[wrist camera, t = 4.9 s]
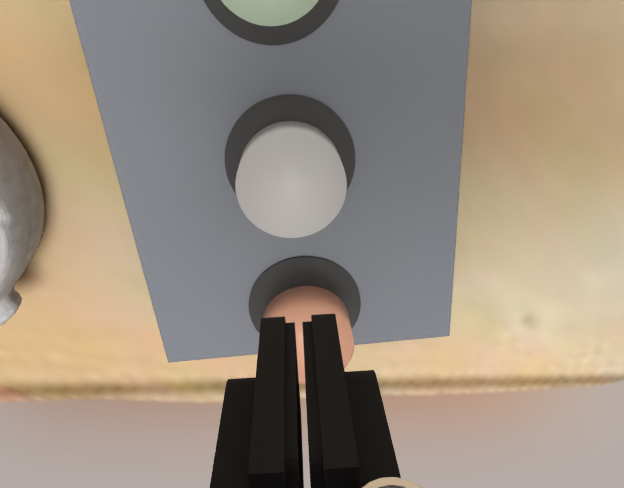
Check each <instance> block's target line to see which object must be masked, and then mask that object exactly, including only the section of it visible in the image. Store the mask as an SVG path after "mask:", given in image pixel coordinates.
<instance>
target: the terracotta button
mask: <svg viewBox="0 0 624 488" xmlns="http://www.w3.org/2000/svg"><path fill="white" fill-rule="evenodd" d="M334 313H335V315H336V321H337V327H338V334H339V340H340V346H341V353H342V359H343V365H344V368H345V367H346V366H347V364H348V363H349V361H350V360H351V358H352V355H353V351H354V338H353V333H352V329H351V324H350V319H349V314H348V311H347V308H346V306H345V304H344V303H343V302H342V300H341V299H340V298H339V297H338V296H336V295H335V294H334V293H332V292H330V291H328V290H326V289H323V288H320V287H315V286H299V287H294V288H291V289H288V290H286V291H284V292H282V293H280V294H279V295H277V296H276V297H275V298H274V299H273V300H272V301H271V302H270V303H269V304H268V306H267V308H266V310H265V312H264V316H263V318H267V317H284V316H285V320H286V323H292V322H295V333H296V348H297V363H298V378H299V383H301V384H305V364H304V344H303V324H302V322H308V321H312V319H311V315H318V314H334Z"/></svg>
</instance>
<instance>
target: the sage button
mask: <svg viewBox="0 0 624 488" xmlns="http://www.w3.org/2000/svg"><path fill="white" fill-rule="evenodd" d="M221 1H222V2H223V3H224V5H225V6H226V7H227V8H228V9H229V10H231V11H232V12H233V13H234V14H236V15H237V16H239V17H240V18H242V19H244V20H246V21H248V22H250V23H253V24H257V25H262V26H280V25H285V24H288V23H291V22H293V21H295V20H298V19H299V18H301V17H302V16H304V15H305V14H306V13H308V12H309V11H310V10H311V9H312V8H313V7H314V6H315V5H316V3H317V2H318V1H319V0H221Z"/></svg>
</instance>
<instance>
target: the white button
mask: <svg viewBox="0 0 624 488" xmlns="http://www.w3.org/2000/svg"><path fill="white" fill-rule="evenodd" d="M235 188H236V195H237V200H238V202H239V205H240V207H241V209H242V211H243V213H244V214H245V215H246V217H247V218H248V219H249V220H250V221H251V222H252V223H253V224H254V225H255V226H256V227H258V228H259V229H261V230H263V231H264V232H267V233H269V234H271V235H274V236H278V237H283V238H299V237H304V236H308V235H311V234H314V233H316V232H318V231H320V230H321V229H323V228H324V227H326V226H327V225H328V224H329V223H331V222H332V221H333V220H334V218H335V217H336V216H337V215H338V213H339V211H340V210H341V208H342V206H343V203H344V200H345V197H346V191H347V180H346V174H345V170H344V167H343V164H342V162H341V159H340V156H339V154H338V151H337V149H336V147H335V145H334V144H333V142H332V141H331V140H330V138H329V137H328V136H327V135H326V134H325V133H323V132H322V131H321V130H319V129H318V128H316V127H314V126H312V125H309V124H307V123H303V122H298V121H283V122H278V123H274V124H271V125H269V126H267V127H265V128H263V129H262V130H260V131H259V132H258V133H256V134H255V135H254V136H253V137H252V138H251V140H250V141H249V142H248V144H247V145H246V147H245V149H244V151H243V154H242V157H241V160H240V164H239V167H238V171H237V175H236V183H235Z"/></svg>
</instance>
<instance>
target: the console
mask: <svg viewBox="0 0 624 488" xmlns="http://www.w3.org/2000/svg"><path fill="white" fill-rule="evenodd" d="M69 1H70V5H71V8H72V12H73V16H74V19H75V23H76V27H77V30H78V34H79V38H80V41H81V45H82V49H83V52H84V56H85V60H86V63H87V67H88V70H89V74H90V78H91V81H92V85H93V89H94V92H95V96H96V100H97V103H98V107H99V111H100V114H101V118H102V122H103V125H104V129H105V133H106V136H107V140H108V144H109V147H110V151H111V155H112V158H113V162H114V166H115V169H116V173H117V177H118V180H119V184H120V188H121V191H122V195H123V199H124V202H125V206H126V210H127V213H128V217H129V221H130V224H131V228H132V232H133V235H134V239H135V243H136V246H137V250H138V254H139V257H140V261H141V264H142V268H143V272H144V275H145V279H146V283H147V286H148V290H149V294H150V297H151V301H152V305H153V308H154V312H155V316H156V319H157V323H158V327H159V330H160V334H161V338H162V341H163V345H164V349H165V352H166V356H167V360H168V362H178V361H189V360H200V359H210V358H221V357H231V356H242V355H253V354H258V346H259V334H260V322H261V318H263V316H264V312H265V310H266V308H267V306H268V304H269V303H270V302H271V301H272V300H273V299H274V298H275V297H276V296H277V295H279V294H280V293H282V292H284V291H286V290H288V289H291V288H294V287H299V286H315V287H320V288H323V289H326V290H328V291H330V292H332V293H334V294H335V295H336V296H338V297H339V298H340V299H341V300H342V302H343V303H344V304H345V306H346V308H347V311H348V314H349V319H350V324H351V329H352V333H353V338H354V345H358V344H369V343H380V342H390V341H401V340H411V339H422V338H433V337H443V336H449V334H450V319H451V303H452V288H453V273H454V258H455V243H456V228H457V213H458V198H459V183H460V168H461V153H462V137H463V122H464V107H465V92H466V77H467V62H468V47H469V32H470V17H471V2H472V0H319V1H318V2H317V3H316V5H315V6H314V7H313V8H312V9H311V10H310V11H309V12H308V13H306V14H305V15H304V16H302V17H301V18H299V19H298V20H295V21H293V22H291V23H288V24H285V25H280V26H262V25H257V24H253V23H250V22H248V21H246V20H244V19H242V18H240V17H239V16H237V15H236V14H234V13H233V12H232V11H231V10H229V9H228V8H227V7H226V6H225V5H224V3H223V2H222V1H221V0H69ZM283 121H298V122H303V123H307V124H309V125H312V126H314V127H316V128H318V129H319V130H321V131H322V132H323V133H325V134H326V135H327V136H328V137H329V138H330V140H331V141H332V142H333V144H334V145H335V147H336V149H337V151H338V154H339V156H340V159H341V162H342V164H343V167H344V170H345V174H346V180H347V191H346V197H345V200H344V203H343V206H342V208H341V210H340V211H339V213H338V215H337V216H336V217H335V218H334V220H333V221H332V222H331V223H329V224H328V225H327V226H326V227H324V228H323V229H321V230H320V231H318V232H316V233H314V234H311V235H308V236H304V237H299V238H283V237H278V236H274V235H271V234H269V233H267V232H264V231H263V230H261V229H259V228H258V227H256V226H255V225H254V224H253V223H252V222H251V221H250V220H249V219H248V218H247V217H246V215H245V214H244V213H243V211H242V209H241V207H240V205H239V202H238V200H237V195H236V188H235V183H236V175H237V171H238V167H239V164H240V160H241V157H242V154H243V151H244V149H245V147H246V145H247V144H248V142H249V141H250V140H251V138H252V137H253V136H254V135H255V134H256V133H258V132H259V131H260V130H262V129H263V128H265V127H267V126H269V125H271V124H274V123H278V122H283Z"/></svg>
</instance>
